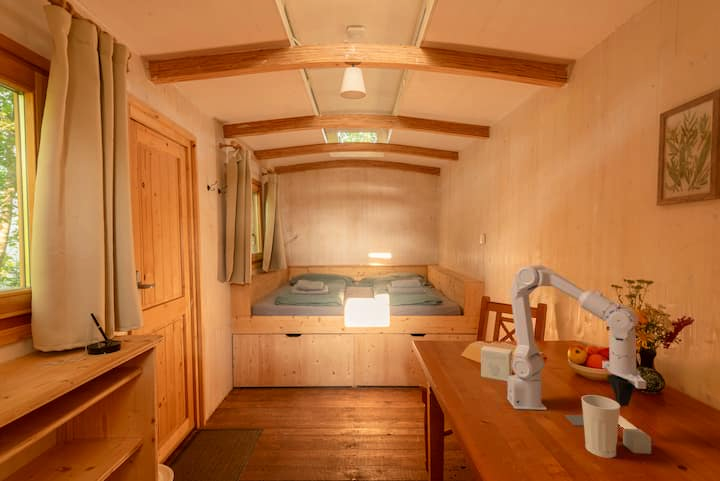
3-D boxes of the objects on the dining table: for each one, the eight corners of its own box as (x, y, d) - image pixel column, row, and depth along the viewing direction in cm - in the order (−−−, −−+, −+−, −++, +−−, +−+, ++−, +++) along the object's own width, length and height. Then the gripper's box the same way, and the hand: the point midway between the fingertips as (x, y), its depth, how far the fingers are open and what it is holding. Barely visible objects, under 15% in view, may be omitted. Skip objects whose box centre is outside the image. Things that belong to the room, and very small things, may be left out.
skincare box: (512, 376, 137) (512, 349, 137) (509, 382, 132) (509, 353, 132) (484, 371, 143) (484, 344, 143) (480, 376, 138) (480, 349, 138)
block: (633, 453, 88) (633, 437, 88) (623, 444, 92) (623, 428, 92) (651, 454, 88) (651, 437, 88) (639, 444, 92) (639, 429, 92)
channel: (612, 441, 93) (612, 433, 93) (583, 415, 107) (583, 408, 107) (645, 442, 93) (645, 434, 93) (611, 416, 106) (611, 409, 106)
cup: (574, 442, 93) (574, 395, 93) (603, 440, 94) (603, 394, 94) (597, 460, 85) (597, 410, 85) (628, 459, 86) (628, 408, 86)
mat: (574, 425, 101) (574, 424, 101) (564, 416, 107) (564, 414, 107) (595, 426, 101) (595, 425, 101) (584, 416, 106) (584, 415, 106)
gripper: (659, 363, 88) (659, 418, 88) (620, 345, 102) (620, 393, 102) (628, 362, 88) (628, 418, 88) (594, 345, 103) (594, 392, 103)
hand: (622, 404), depth 95 cm, fingers closed
